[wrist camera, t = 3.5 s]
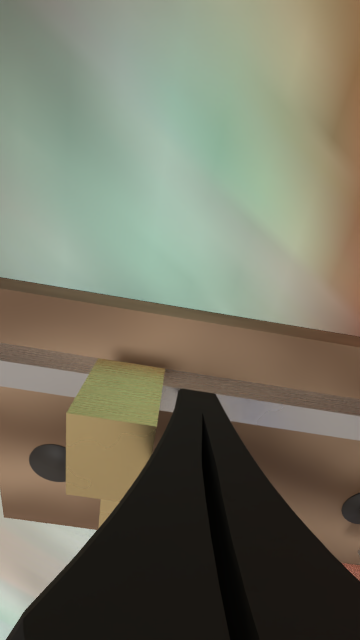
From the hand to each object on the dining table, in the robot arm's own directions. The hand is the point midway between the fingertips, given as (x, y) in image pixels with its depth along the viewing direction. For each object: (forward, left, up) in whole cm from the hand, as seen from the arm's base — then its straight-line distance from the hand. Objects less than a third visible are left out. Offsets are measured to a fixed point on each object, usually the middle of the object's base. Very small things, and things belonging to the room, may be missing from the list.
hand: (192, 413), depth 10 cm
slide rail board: (-5, -2, -4) cm, 6 cm away
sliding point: (-4, +2, -2) cm, 5 cm away
